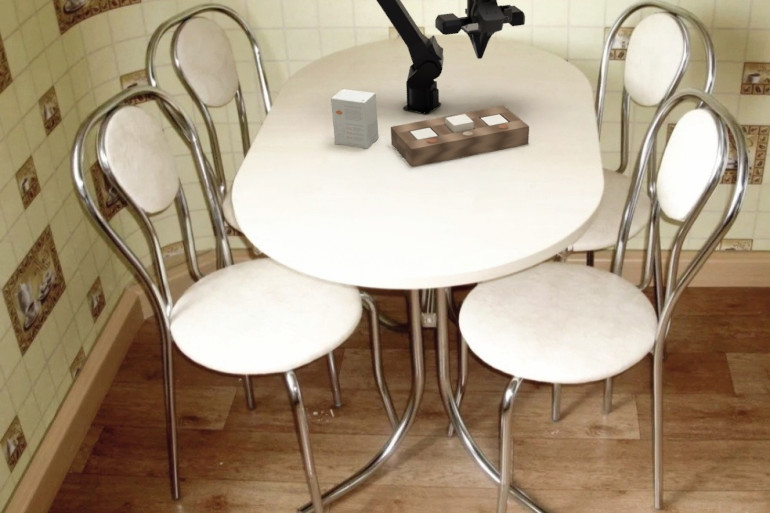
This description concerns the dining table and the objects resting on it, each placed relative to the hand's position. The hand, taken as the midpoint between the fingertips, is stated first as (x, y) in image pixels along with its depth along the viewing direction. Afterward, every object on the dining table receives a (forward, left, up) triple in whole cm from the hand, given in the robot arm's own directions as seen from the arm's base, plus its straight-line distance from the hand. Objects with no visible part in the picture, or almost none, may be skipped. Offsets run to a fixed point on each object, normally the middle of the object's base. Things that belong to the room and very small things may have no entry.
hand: (479, 58), depth 210 cm
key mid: (+6, -19, -9) cm, 22 cm away
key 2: (+10, -12, -11) cm, 20 cm away
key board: (+6, -19, -12) cm, 23 cm away
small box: (-14, -28, -12) cm, 34 cm away
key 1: (+1, -25, -11) cm, 27 cm away
